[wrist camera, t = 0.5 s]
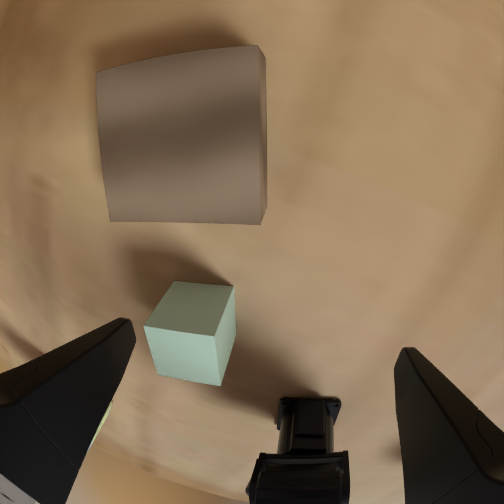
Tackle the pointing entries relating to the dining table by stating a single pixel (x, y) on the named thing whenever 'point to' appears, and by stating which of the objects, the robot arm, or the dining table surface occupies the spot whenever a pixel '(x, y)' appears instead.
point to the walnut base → (185, 137)
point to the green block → (193, 332)
